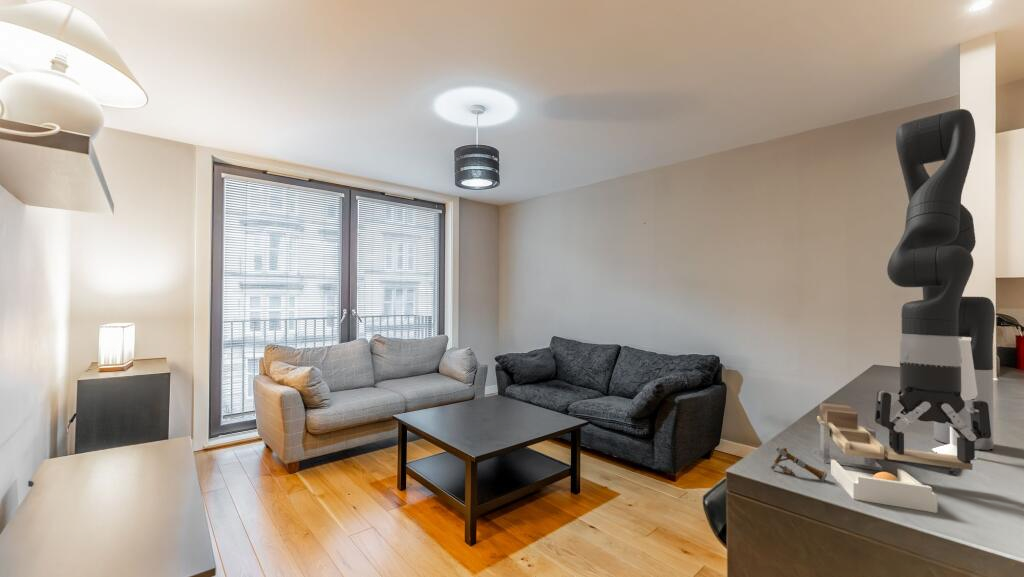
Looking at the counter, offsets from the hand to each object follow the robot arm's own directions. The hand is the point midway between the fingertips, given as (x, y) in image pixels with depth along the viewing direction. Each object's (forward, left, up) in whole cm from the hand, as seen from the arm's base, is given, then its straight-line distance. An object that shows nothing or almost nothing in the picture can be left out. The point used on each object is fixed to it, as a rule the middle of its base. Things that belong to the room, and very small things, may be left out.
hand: (930, 457), depth 72 cm
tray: (+7, -9, -5) cm, 12 cm away
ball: (+10, -9, -2) cm, 14 cm away
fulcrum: (-7, -9, -5) cm, 13 cm away
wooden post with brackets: (+6, -20, -5) cm, 21 cm away
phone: (-14, +2, -5) cm, 16 cm away
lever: (-8, -4, 0) cm, 8 cm away
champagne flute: (-23, +14, -5) cm, 28 cm away
